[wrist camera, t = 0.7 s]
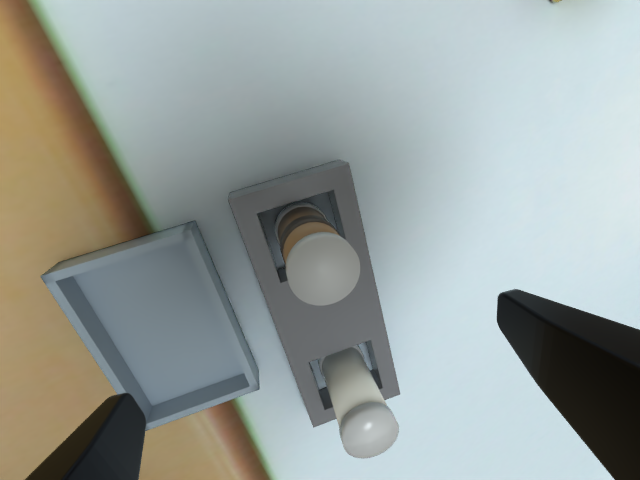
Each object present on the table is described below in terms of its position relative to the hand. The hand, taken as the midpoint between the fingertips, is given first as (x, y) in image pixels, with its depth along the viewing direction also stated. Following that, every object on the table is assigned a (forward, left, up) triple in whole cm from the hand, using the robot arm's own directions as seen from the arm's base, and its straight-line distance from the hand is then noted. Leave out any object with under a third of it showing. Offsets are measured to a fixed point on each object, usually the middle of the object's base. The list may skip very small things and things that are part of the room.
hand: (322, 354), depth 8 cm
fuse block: (-7, -1, -14) cm, 16 cm away
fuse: (-13, -1, -14) cm, 19 cm away
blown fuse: (-2, -1, -14) cm, 14 cm away
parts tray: (-5, +9, -14) cm, 17 cm away
